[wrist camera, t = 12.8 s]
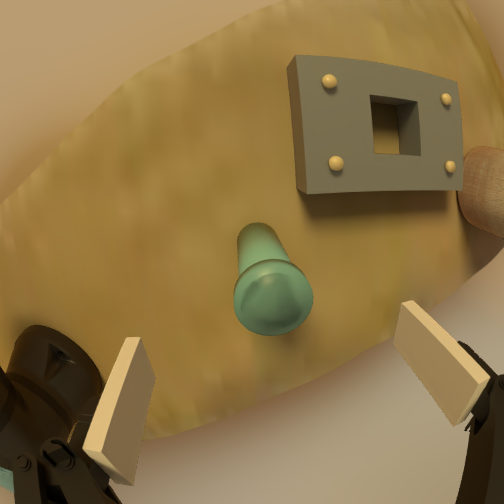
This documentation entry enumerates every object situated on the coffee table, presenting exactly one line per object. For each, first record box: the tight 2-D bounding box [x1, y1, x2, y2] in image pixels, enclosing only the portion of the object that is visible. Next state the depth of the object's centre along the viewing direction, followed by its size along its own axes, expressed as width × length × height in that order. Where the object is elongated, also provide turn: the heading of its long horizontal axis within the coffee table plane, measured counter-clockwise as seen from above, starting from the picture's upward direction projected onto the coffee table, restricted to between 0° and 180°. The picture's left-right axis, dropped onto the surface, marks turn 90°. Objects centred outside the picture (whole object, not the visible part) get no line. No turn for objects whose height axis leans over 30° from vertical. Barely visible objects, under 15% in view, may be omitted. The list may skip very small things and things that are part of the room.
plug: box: [234, 223, 313, 336], centre depth 23 cm, size 5×5×12 cm
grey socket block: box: [287, 55, 463, 194], centre depth 23 cm, size 18×12×5 cm, turn 95°
